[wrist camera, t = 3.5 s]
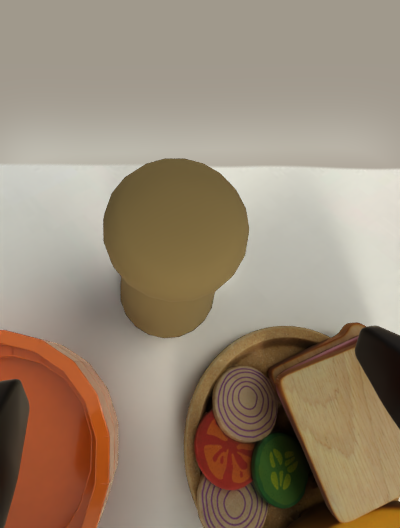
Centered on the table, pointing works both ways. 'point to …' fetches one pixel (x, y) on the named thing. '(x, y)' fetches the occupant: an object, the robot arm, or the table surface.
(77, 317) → the table surface
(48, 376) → the pan
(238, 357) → the toy sandwich meal
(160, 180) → the cork
